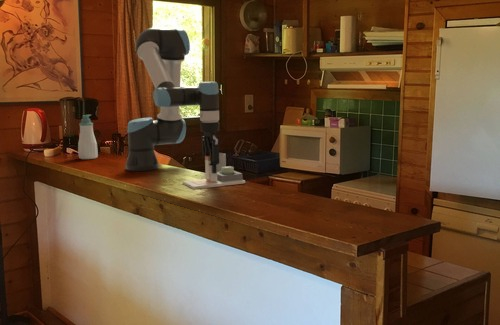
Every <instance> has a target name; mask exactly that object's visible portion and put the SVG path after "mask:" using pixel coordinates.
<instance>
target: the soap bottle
mask: <svg viewBox="0 0 500 325" xmlns="http://www.w3.org/2000/svg"><path fill="white" fill-rule="evenodd" d="M91 116H92V114H84V115H82V118H81V122H80V123H78V125H79V137H78V138H79V139H78V141H77V142H78V143H77V144H78V145H77V152H78V158H79V159H80V160H94V159H95V160H96V159H97V158H98V156H99V154H98V153H99V152H98V143H97V140H96V136H95V133H94V123H93V122H92V121H91V118H90V117H91Z"/></svg>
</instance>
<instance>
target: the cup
mask: <svg viewBox="0 0 500 325" xmlns="http://www.w3.org/2000/svg"><path fill="white" fill-rule="evenodd" d="M226 155H227V154H226V153H222V152H219V164H217V172H221V167H226V166H227V157H226Z"/></svg>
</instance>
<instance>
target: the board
mask: <svg viewBox="0 0 500 325" xmlns="http://www.w3.org/2000/svg"><path fill="white" fill-rule="evenodd" d="M243 178H244V177H243V173H241V172H239V171H236V170H234V174H227V175H223V174H221V172H217V181H215V182H208V181H207V180H206V178H202V179H195V180H194V179H193V180H186V181H185V180H184V181H182V184H183V185H184V186H186V187H188V188H190V189H192V190H198V189H207V188H216V187H224V186H232V185H233V186H234V185H242V184H246V180H244V179H243Z"/></svg>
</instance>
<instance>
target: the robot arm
mask: <svg viewBox="0 0 500 325" xmlns="http://www.w3.org/2000/svg"><path fill="white" fill-rule="evenodd" d="M190 47H191V45H190V38H189V35H188V33H187V31H186V29H184V28H181V27H180V28H179V27H148V28H147V29H144V30H143V31H142V32H141V33H139V35H138V36H137V39H136V40H135V53H136V55H137V57H138V58H139V59H140V60H142V62H143V64H144V66H145V69H146V71H147V73H148V75H149V78H150V80H151V82H152V84H153V86H154V89H153V94H152V95H153V96H152V98H153V102H154V105H155V106H156V107H158V108H159V107H160V111H159V113H158V114H157V115H156V119H155V120H154V118H153V117H150V116H149V117H142V118H141V117H140V118H136V119H132V120H129V122H128V123H127V131H126V132H127V139H128V140H127V142H128V155H127V158H126V162H125V169H126V170H127V171H131V172H145V171H146V172H147V171H153V170H157V169H159V167H160V166H159V165H160V163H159V160H158V158H157V155H156V152H155V146H159V145H160V146H161V145H175V144H181V143H182V142H183V141H184V139H185V137H186V134H187V133H186V132H187V125H186V124H187V123H186V121H185V119H184V118H183V116H182V115H181V114H180V107H189V106H190V107H191V106H199V113H198V116H199V121H200V123H199V127H200V129H199V130H200V133H201V132H202V133H204V134H203V136H201V137H200V138H201V139H200V140H201V149H202V150H201V151H202V153H201V154H202V161H203V162H204V163H205V156H210V162H211V164H209V165H210V181H211V182H212V181H217V164H219V153H220V143H221V142H220V141H221V140H220V138H217V133H218V132H220V122H219V121H220V109H219V108H220V104H219V103H220V102H219V101H220V100H219V98H220V97H219V93H220V90H219V83H218V82H217V81H201V82H199V84H198V85H196V86H195V85H194V86H181V74H182V73H181V70H182V63H183V62H184V60H185V57H186V56H187V55H189V53H190V51H191V48H190ZM205 179H206V180H207V178H206V177H205Z"/></svg>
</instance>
